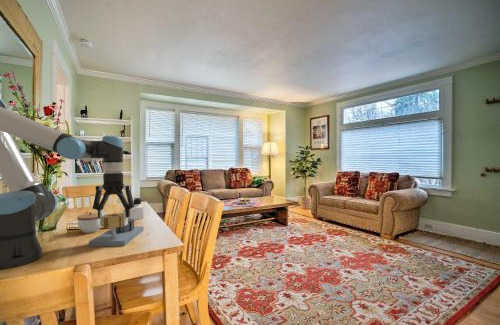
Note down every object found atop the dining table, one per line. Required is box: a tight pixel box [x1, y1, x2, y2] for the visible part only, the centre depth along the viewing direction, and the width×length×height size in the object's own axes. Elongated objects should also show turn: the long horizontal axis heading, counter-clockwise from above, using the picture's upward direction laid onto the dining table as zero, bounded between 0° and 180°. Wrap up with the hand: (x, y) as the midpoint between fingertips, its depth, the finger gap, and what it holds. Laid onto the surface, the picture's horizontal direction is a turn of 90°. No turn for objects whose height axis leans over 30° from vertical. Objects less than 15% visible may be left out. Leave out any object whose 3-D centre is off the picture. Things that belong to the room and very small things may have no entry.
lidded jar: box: [76, 211, 102, 234], centre depth 125 cm, size 11×11×9 cm
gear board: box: [88, 225, 144, 247], centre depth 115 cm, size 14×22×7 cm, turn 4°
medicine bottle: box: [128, 197, 145, 221], centre depth 151 cm, size 7×7×12 cm
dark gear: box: [116, 218, 135, 233], centre depth 120 cm, size 9×9×4 cm
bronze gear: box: [101, 212, 123, 229], centre depth 110 cm, size 9×9×4 cm
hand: (114, 225), depth 110 cm, fingers closed on bronze gear, 9 cm apart
